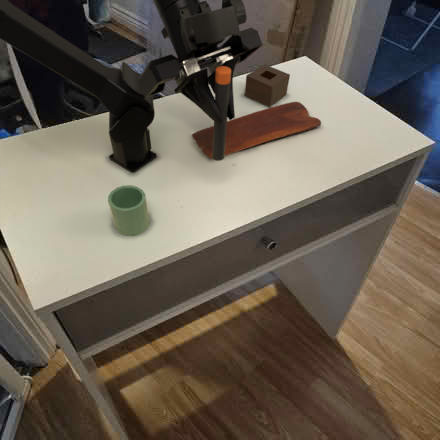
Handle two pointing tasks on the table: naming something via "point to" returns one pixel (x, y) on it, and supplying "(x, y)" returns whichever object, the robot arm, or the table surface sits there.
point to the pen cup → (129, 210)
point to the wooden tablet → (259, 128)
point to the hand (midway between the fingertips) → (226, 121)
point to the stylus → (221, 110)
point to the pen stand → (266, 85)
